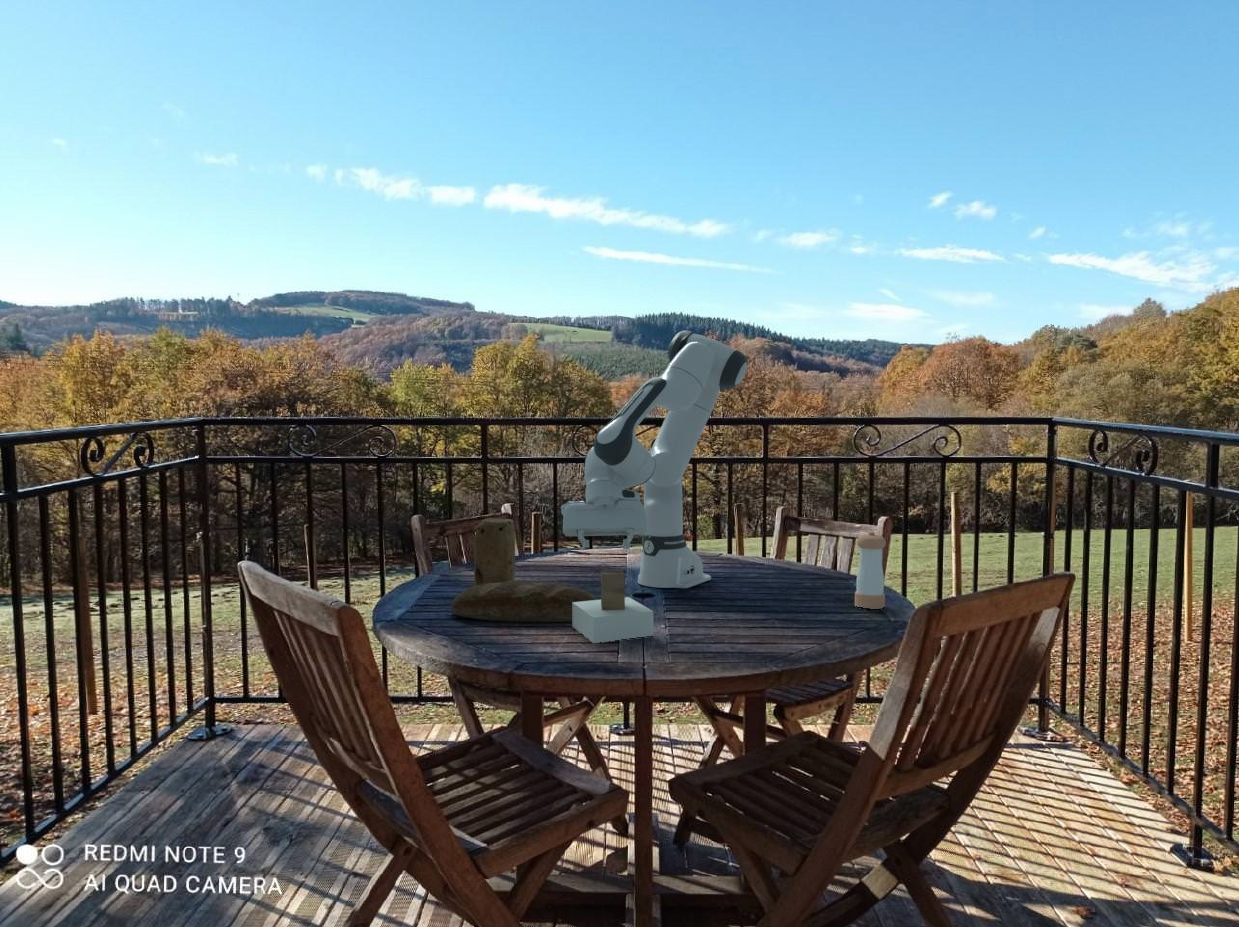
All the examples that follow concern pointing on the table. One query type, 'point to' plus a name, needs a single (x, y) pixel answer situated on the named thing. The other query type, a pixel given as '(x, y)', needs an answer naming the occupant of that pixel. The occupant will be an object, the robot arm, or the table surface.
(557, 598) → the bread
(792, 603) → the table surface
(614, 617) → the painted base block
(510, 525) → the block
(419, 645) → the table surface
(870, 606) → the pepper shaker
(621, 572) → the walnut block
